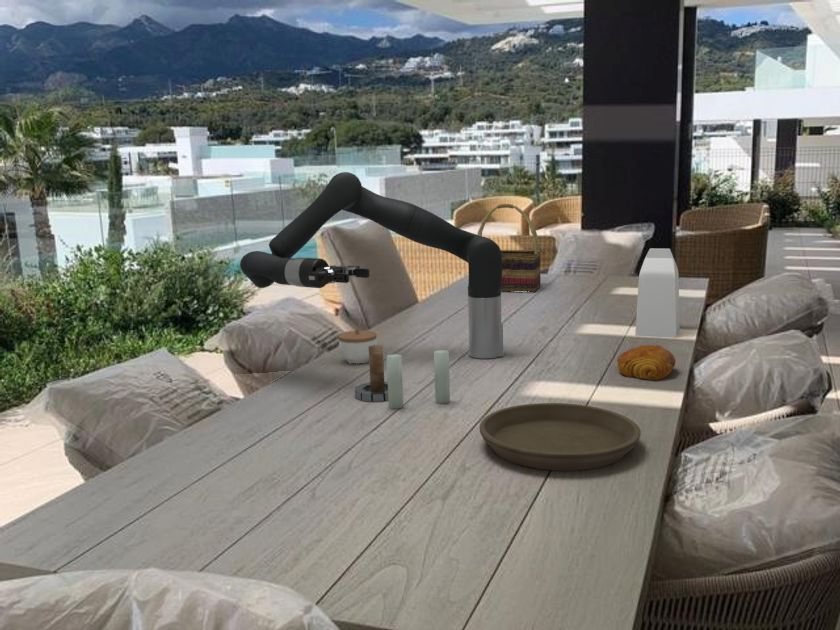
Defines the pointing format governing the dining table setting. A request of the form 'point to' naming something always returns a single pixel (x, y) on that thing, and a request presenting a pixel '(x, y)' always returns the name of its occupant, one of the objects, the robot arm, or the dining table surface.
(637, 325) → the milk
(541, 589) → the dining table surface
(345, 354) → the lidded jar
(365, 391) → the ring
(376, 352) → the walnut dowel
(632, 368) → the croissant
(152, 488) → the dining table surface
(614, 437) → the plant saucer
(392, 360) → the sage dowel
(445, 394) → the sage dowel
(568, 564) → the dining table surface
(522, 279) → the basket
